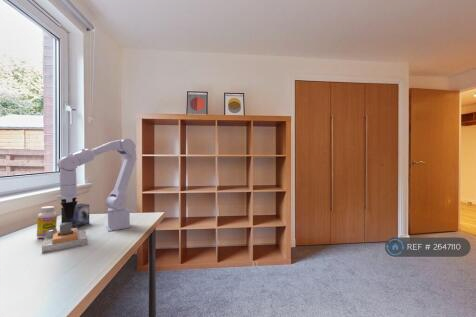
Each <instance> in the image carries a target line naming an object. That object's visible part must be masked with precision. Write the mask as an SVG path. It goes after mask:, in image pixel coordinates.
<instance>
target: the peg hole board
mask: <svg viewBox="0 0 476 317" xmlns="http://www.w3.org/2000/svg"><path fill="white" fill-rule="evenodd" d="M57 231H58V229H57V228H56V229H50V230H47V231H46V236H45V238H43V241H42V244H41V245H42V246H41V253H42V254H45V253H49V252H55V251H60V250H64V249H69V248H74V247H80V246H84V245H88V237H87V233H86V232H87V231H86V229H85V228H84V229H77V232H78V239H75V240H70V241H64V242H59V243H53V244H52V239H53V234H54V233H56V232H57Z"/></svg>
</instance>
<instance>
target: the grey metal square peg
mask: <svg viewBox="0 0 476 317" xmlns="http://www.w3.org/2000/svg"><path fill="white" fill-rule="evenodd" d="M59 231H60V236H62V235H68V234H71V222H67V223H62V222H60V225H59Z"/></svg>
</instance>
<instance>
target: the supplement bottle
mask: <svg viewBox="0 0 476 317" xmlns="http://www.w3.org/2000/svg"><path fill="white" fill-rule="evenodd" d="M40 211H41V212H40V213H38V214H37V221H36V222H37V224H36V237H37V238H38V239H44V238H45V236H46V231H47V230H50V229H57V219H58V215H57V214H58V213H57V212H55V206H52V205H50V206H48V205H47V206H42V207H40Z"/></svg>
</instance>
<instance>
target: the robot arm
mask: <svg viewBox="0 0 476 317" xmlns="http://www.w3.org/2000/svg"><path fill="white" fill-rule="evenodd" d="M136 147H137V146H136V144H135V142H134V141H133V140H132V139H131V138H122V139H117V140H112V141H109V142H106V143H104V144H101V145H100V146H97V147H94V148H92V149H89V148H81V149H80V151H77V152H74V153H72V152H70V153H69V154H68V155H67V156H63V157H60V159H58V161H57V163H56V165H57V167H58V168H59V191H60V194H59V195H56V198H57V199H60V201H61V202H60V205H61V206H62V207H63V208H64V211H65V215H66V218H67V219H70V218H73V215H74V209H75V206H76V204H78V201H77V197H78V193H77V192H78V190H77V189H78V188H77V187H78V185H77V168H78V167H80V166H82V165H85V164H87V163H90V162H91V161H94V160H95V157H96V156H99V155H101V154H104V153H108V152H109V151H116V152H118V153H119V154H120V155H121V156H122V158H123V162H122V165H121V167H120V169H119V170H120V171H119V173H118V177H117V179H116V182H115V185H114V187H113V190H111V192H109V195H108V197H107V198H106V199H105V202H104V203H105V206H106V207H107V225H106V229H107V231H108V232H112V231H118V230H124V229H128V228H129V229H130V228H131V222H130V220H131V218H130V209H129V208H126V206H127V197H128V195H127V192H126V191H127V188H128V185H129V182H130V179H131V177H132V173H133V170H134V167H135V165H136V161H137V152H136ZM62 207H61V208H62Z"/></svg>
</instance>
